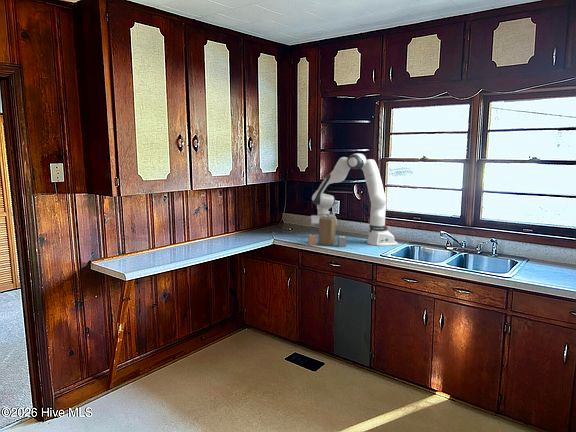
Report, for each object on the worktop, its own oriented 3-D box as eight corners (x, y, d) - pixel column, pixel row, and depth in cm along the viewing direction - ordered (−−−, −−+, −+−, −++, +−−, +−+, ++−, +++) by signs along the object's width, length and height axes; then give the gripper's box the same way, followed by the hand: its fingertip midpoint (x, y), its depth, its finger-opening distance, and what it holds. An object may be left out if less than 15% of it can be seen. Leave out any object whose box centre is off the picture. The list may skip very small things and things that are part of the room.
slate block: (344, 245, 311) (345, 235, 310) (346, 247, 306) (346, 237, 305) (337, 245, 311) (338, 235, 309) (339, 247, 306) (339, 237, 304)
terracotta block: (315, 243, 316) (315, 233, 314) (316, 245, 311) (316, 235, 309) (308, 243, 315) (308, 233, 314) (309, 245, 310) (309, 235, 309)
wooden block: (318, 244, 312) (318, 218, 309) (322, 242, 321) (323, 216, 318) (331, 246, 308) (331, 219, 305) (335, 243, 317) (336, 217, 314)
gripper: (310, 212, 330) (311, 227, 322) (336, 212, 331) (338, 227, 323) (309, 217, 335) (310, 231, 327) (335, 217, 336) (337, 231, 329)
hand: (324, 229), depth 325 cm, fingers closed
